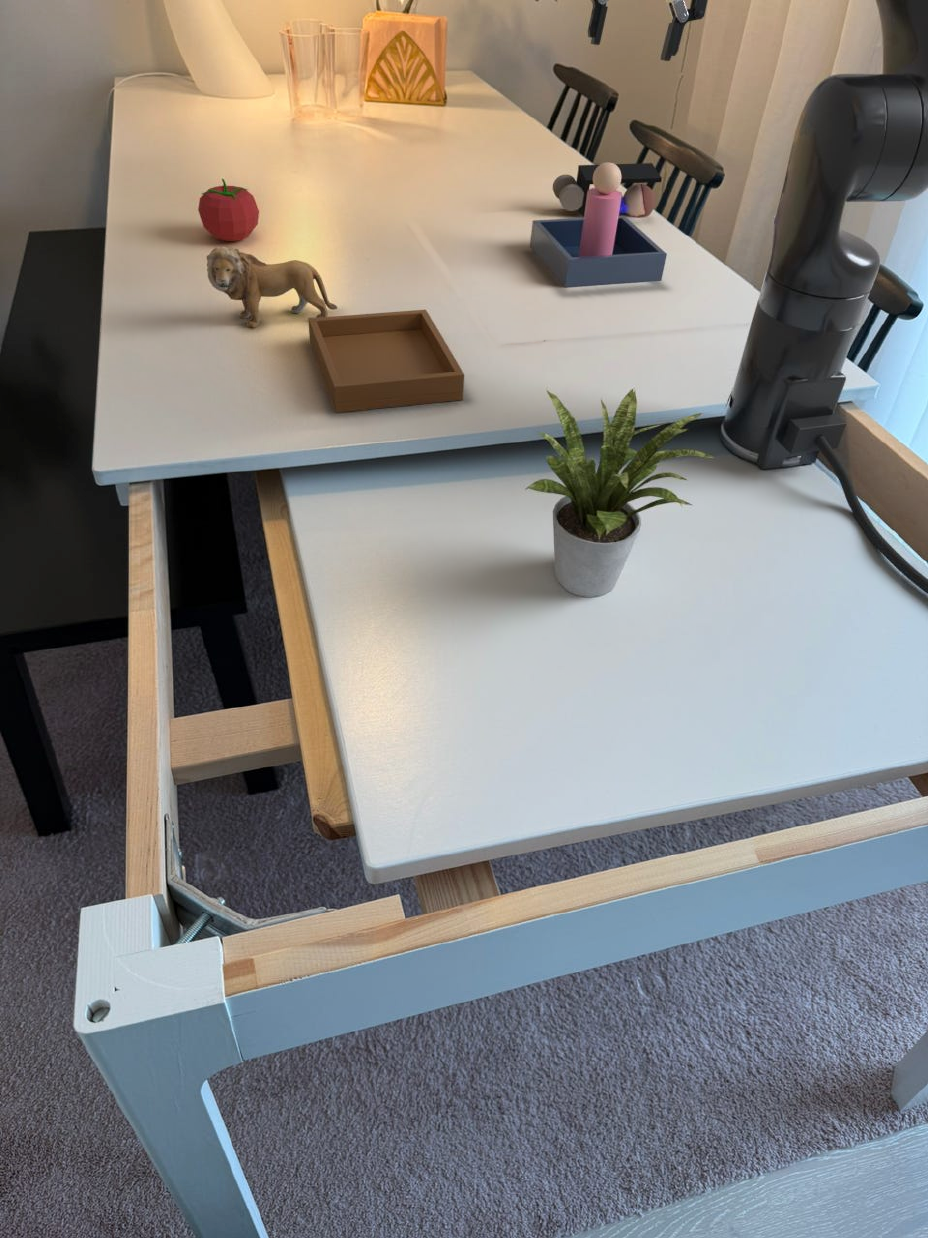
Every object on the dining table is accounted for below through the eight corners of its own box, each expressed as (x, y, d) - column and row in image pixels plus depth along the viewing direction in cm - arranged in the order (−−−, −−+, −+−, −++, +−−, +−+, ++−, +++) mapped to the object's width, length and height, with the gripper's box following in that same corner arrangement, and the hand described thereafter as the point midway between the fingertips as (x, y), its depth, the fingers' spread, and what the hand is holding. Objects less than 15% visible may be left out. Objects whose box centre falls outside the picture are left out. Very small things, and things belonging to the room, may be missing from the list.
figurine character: (560, 235, 137) (659, 225, 138) (561, 182, 132) (663, 171, 132) (551, 219, 142) (647, 208, 142) (552, 166, 136) (651, 156, 137)
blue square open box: (660, 287, 122) (667, 253, 119) (564, 294, 118) (568, 259, 115) (618, 247, 131) (624, 215, 128) (529, 253, 128) (532, 220, 125)
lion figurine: (219, 337, 105) (209, 258, 98) (209, 317, 108) (198, 239, 102) (343, 320, 109) (341, 244, 103) (330, 302, 113) (326, 227, 107)
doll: (615, 268, 123) (632, 167, 114) (585, 270, 122) (600, 169, 113) (602, 255, 126) (618, 156, 117) (572, 257, 125) (586, 157, 116)
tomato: (199, 228, 127) (191, 169, 122) (256, 225, 130) (250, 167, 124) (206, 251, 122) (198, 190, 117) (265, 247, 124) (260, 187, 119)
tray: (462, 400, 97) (464, 374, 95) (335, 413, 94) (334, 386, 92) (425, 333, 108) (425, 309, 106) (309, 343, 105) (308, 317, 103)
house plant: (698, 645, 72) (755, 469, 61) (523, 648, 71) (548, 468, 59) (656, 532, 82) (698, 364, 71) (502, 533, 81) (521, 362, 70)
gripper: (614, -146, 95) (576, 38, 103) (744, -113, 97) (697, 65, 105) (600, -132, 101) (565, 40, 109) (722, -101, 103) (679, 65, 111)
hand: (630, 52), depth 107 cm, fingers open, 8 cm apart
